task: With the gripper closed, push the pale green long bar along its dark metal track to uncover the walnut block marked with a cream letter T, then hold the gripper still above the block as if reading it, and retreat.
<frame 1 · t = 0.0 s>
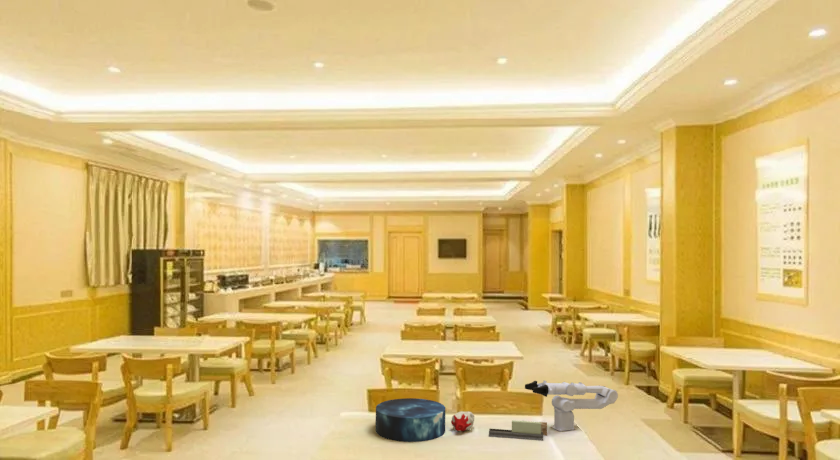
hand: (529, 388, 287), 22 cm above the table, fingers open, 7 cm apart
cylinder: (410, 431, 288), on the table
track: (526, 436, 279), on the table
rock with red coral: (461, 431, 288), on the table
pale green long bar: (526, 428, 280), point 4 cm above the table, slide at 0.0 cm
block: (541, 433, 285), on the table
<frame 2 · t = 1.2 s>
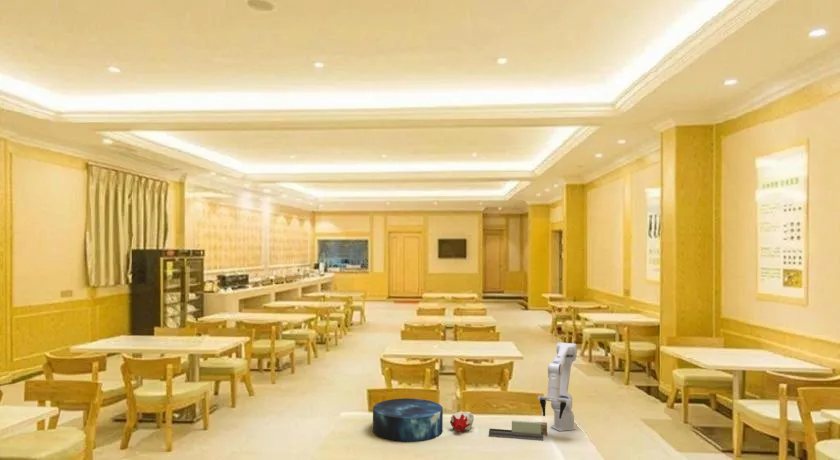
hand: (552, 417, 276), 11 cm above the table, fingers open, 7 cm apart
cylinder: (407, 431, 288), on the table
everything else where it was.
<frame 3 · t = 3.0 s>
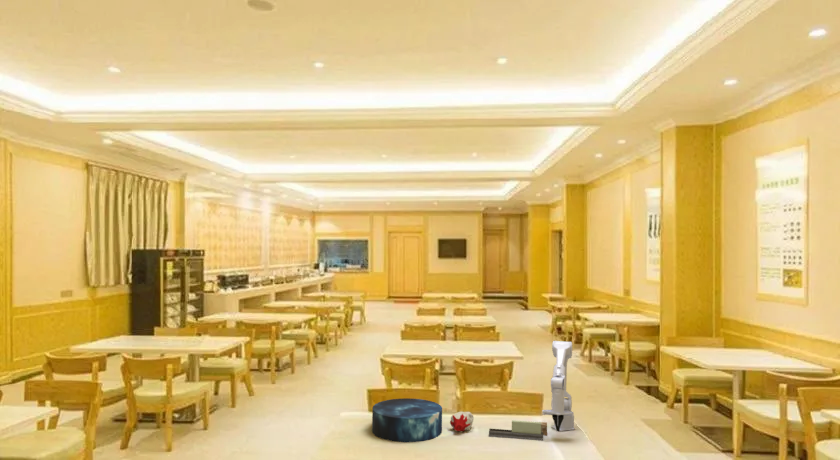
hand: (557, 430, 276), 4 cm above the table, fingers closed
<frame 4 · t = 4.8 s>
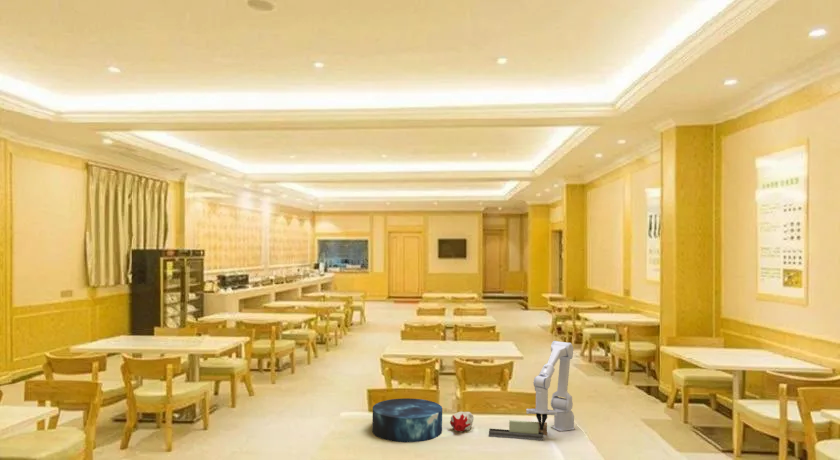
hand: (541, 429, 277), 4 cm above the table, fingers closed
pale green long bar: (523, 427, 280), point 4 cm above the table, slide at 1.2 cm, touching gripper
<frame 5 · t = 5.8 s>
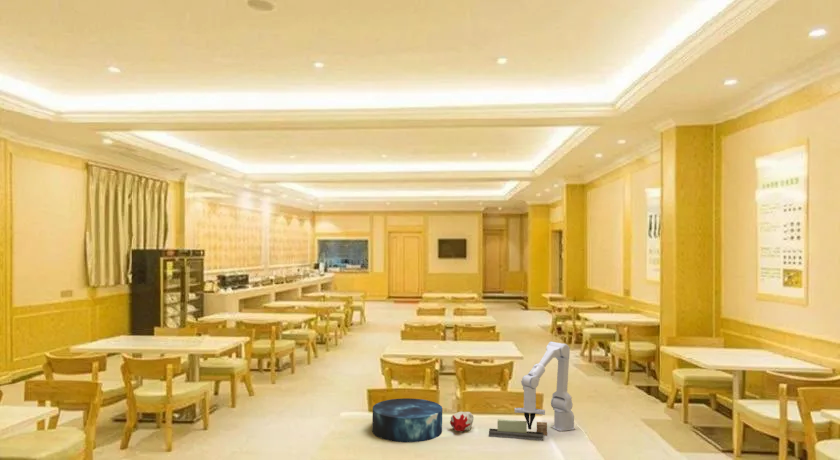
hand: (529, 428, 278), 4 cm above the table, fingers closed
pale green long bar: (512, 427, 281), point 4 cm above the table, slide at 6.9 cm, touching gripper
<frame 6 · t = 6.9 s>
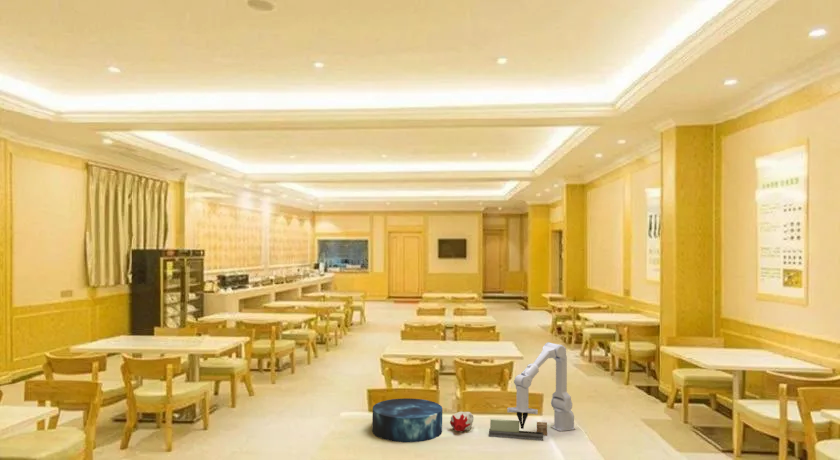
hand: (522, 428, 279), 4 cm above the table, fingers closed
pale green long bar: (504, 426, 282), point 4 cm above the table, slide at 10.4 cm, touching gripper
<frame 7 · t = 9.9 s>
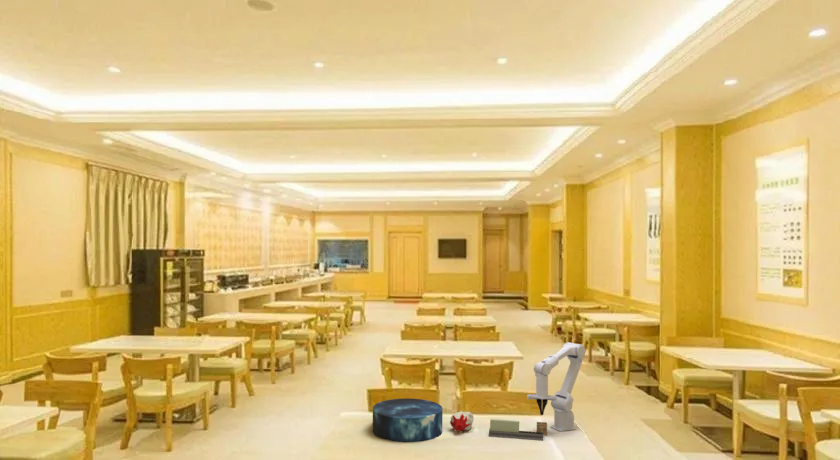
hand: (541, 414, 285), 9 cm above the table, fingers closed
pale green long bar: (504, 426, 282), point 4 cm above the table, slide at 10.5 cm
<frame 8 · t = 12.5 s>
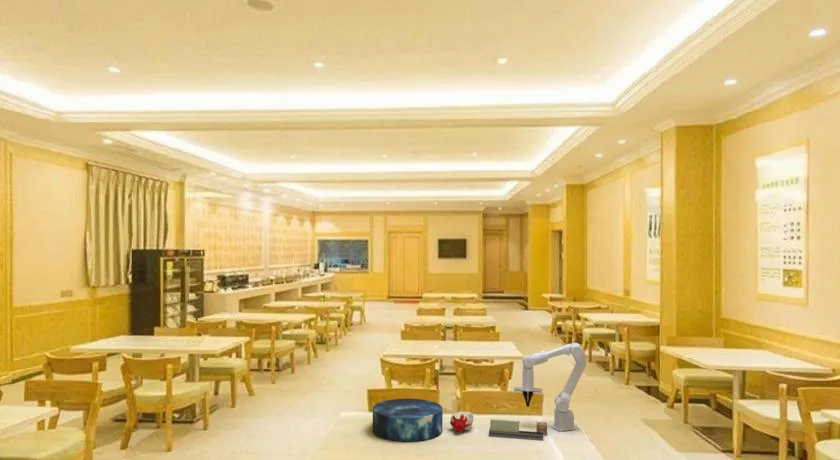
hand: (527, 406, 296), 10 cm above the table, fingers closed
at the end: pale green long bar slide at 10.5 cm; block moved 0.1 cm from its start; block tilted 0° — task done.
